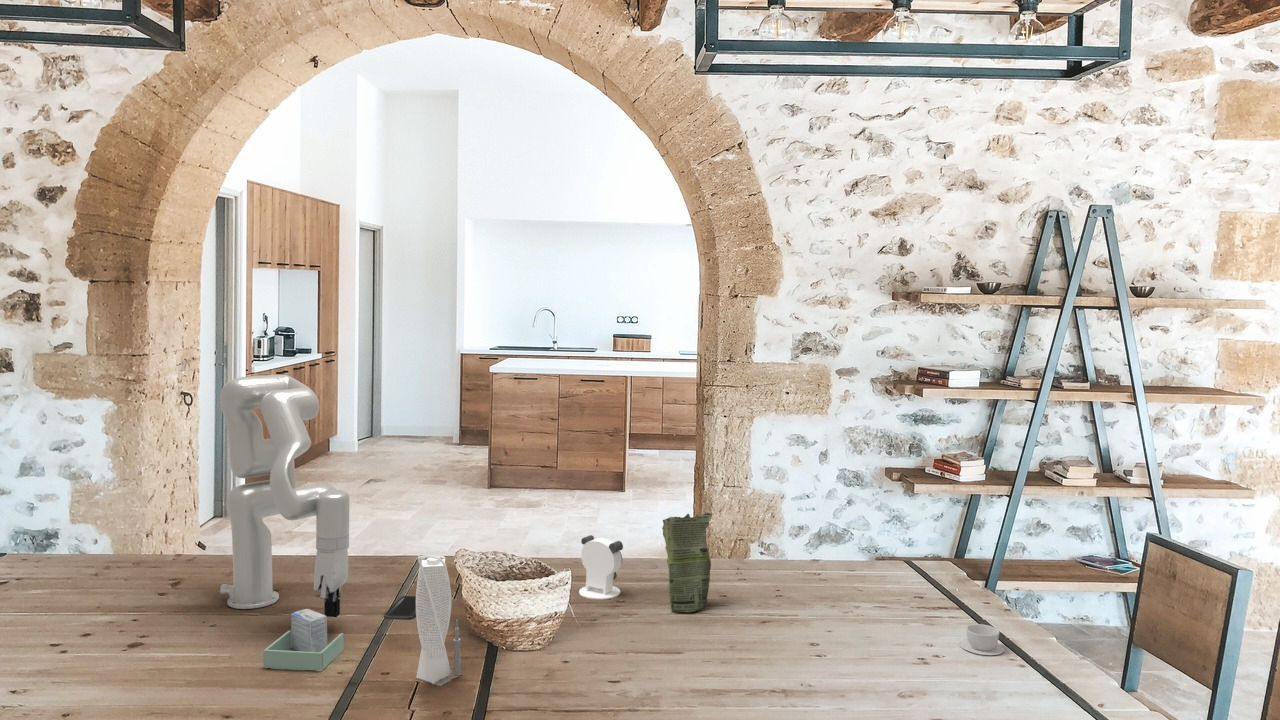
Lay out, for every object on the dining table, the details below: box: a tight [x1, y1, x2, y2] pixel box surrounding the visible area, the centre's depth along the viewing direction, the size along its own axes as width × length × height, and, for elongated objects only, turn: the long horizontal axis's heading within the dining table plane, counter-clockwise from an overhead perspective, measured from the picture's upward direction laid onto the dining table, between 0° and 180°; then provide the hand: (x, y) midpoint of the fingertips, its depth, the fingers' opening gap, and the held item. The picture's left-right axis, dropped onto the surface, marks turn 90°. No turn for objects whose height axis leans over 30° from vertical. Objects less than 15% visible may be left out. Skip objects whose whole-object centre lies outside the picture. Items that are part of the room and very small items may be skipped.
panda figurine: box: [578, 534, 624, 600], centre depth 256 cm, size 12×11×15 cm
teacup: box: [959, 623, 1005, 656], centre depth 221 cm, size 10×10×5 cm
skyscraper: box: [415, 554, 462, 687], centre depth 200 cm, size 8×8×28 cm
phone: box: [383, 595, 416, 621], centre depth 242 cm, size 8×1×15 cm
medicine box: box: [290, 608, 328, 652], centre depth 214 cm, size 8×4×9 cm, turn 52°
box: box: [262, 630, 345, 671], centre depth 209 cm, size 13×12×4 cm
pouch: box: [661, 511, 712, 613], centre depth 246 cm, size 11×12×25 cm
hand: (332, 615), depth 226 cm, fingers closed
